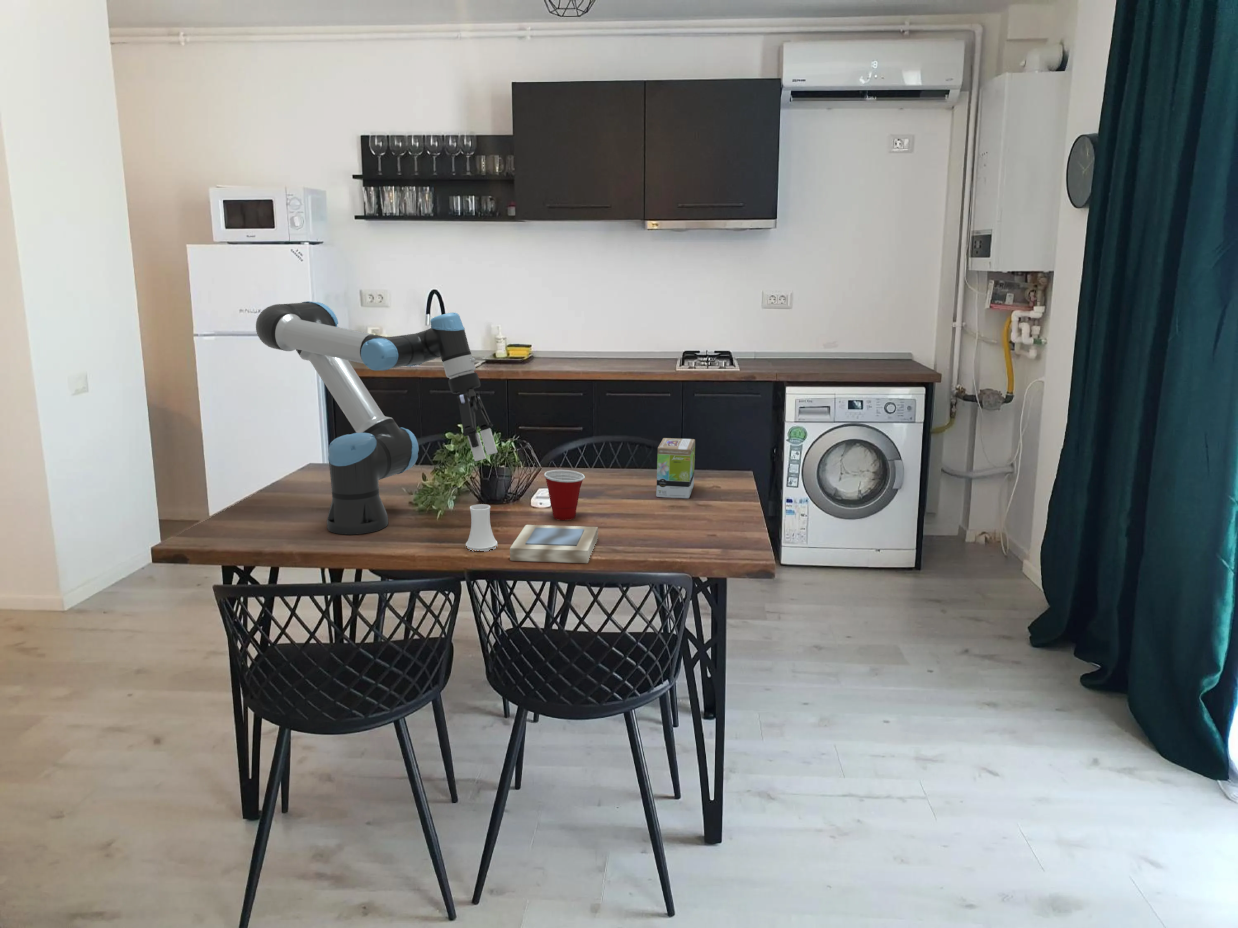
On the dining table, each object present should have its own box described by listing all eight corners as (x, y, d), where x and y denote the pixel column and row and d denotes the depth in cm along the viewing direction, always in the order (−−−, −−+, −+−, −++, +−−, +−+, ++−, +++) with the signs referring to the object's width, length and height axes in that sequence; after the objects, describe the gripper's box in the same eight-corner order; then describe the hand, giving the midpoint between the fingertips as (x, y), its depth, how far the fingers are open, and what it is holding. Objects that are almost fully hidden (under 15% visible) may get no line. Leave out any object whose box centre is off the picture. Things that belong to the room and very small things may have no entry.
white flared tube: (504, 546, 218) (502, 506, 216) (479, 554, 213) (477, 513, 211) (483, 539, 223) (482, 500, 221) (459, 547, 218) (457, 507, 215)
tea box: (690, 499, 259) (691, 448, 255) (655, 497, 260) (655, 447, 257) (694, 485, 273) (695, 437, 270) (661, 484, 275) (661, 436, 271)
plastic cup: (580, 524, 235) (579, 479, 233) (539, 522, 237) (538, 477, 235) (589, 512, 246) (589, 469, 243) (551, 510, 248) (550, 467, 245)
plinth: (510, 560, 208) (509, 546, 208) (526, 536, 226) (525, 523, 225) (587, 563, 207) (587, 549, 206) (598, 538, 224) (597, 525, 223)
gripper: (464, 372, 213) (490, 458, 215) (487, 370, 238) (510, 447, 240) (434, 380, 214) (460, 466, 216) (460, 378, 239) (483, 455, 241)
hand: (486, 456), depth 228 cm, fingers open, 13 cm apart
